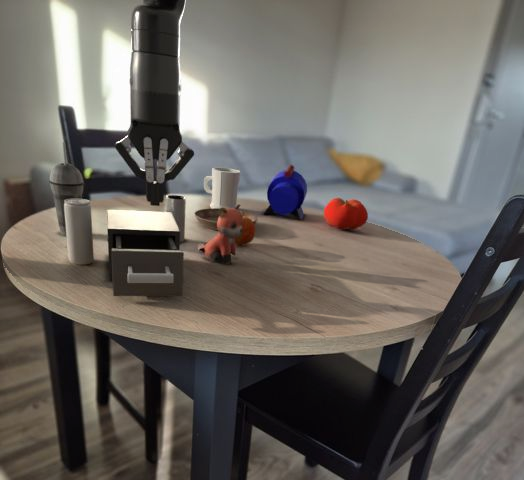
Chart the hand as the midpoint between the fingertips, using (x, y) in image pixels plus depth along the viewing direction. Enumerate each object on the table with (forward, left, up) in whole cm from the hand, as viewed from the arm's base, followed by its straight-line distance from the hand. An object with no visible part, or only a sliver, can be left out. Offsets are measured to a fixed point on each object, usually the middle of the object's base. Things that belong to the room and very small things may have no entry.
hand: (154, 204), depth 82 cm
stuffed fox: (+16, +19, -15) cm, 29 cm away
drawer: (-1, -2, -14) cm, 14 cm away
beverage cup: (-16, +35, -15) cm, 42 cm away
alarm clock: (+47, +65, -15) cm, 82 cm away
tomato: (+61, +50, -15) cm, 80 cm away
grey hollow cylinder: (+8, +32, -15) cm, 36 cm away
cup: (+27, +69, -15) cm, 76 cm away
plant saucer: (+24, +48, -15) cm, 56 cm away
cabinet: (-1, +11, -15) cm, 19 cm away
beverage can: (-13, +15, -15) cm, 25 cm away
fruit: (+24, +30, -15) cm, 41 cm away
